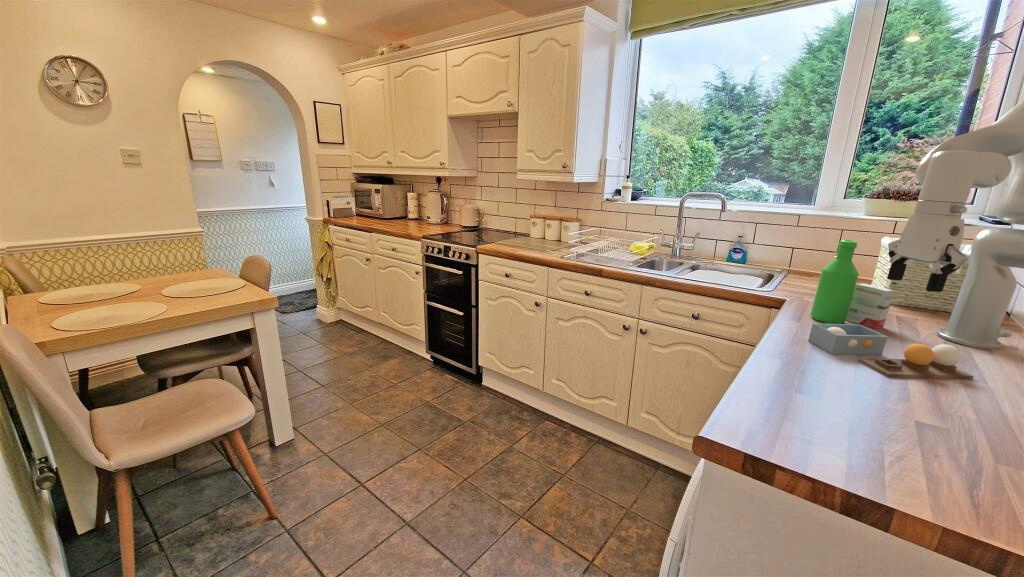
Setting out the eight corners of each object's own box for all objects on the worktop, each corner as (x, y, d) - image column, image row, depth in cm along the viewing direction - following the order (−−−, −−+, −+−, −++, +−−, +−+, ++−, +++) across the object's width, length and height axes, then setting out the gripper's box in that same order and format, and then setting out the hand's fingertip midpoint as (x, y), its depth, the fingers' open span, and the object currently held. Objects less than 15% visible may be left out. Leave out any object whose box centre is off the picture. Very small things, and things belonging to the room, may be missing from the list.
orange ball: (915, 359, 99) (921, 340, 98) (936, 369, 94) (943, 349, 93) (895, 359, 99) (901, 339, 98) (915, 369, 94) (922, 348, 93)
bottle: (850, 326, 124) (874, 244, 117) (818, 323, 126) (840, 242, 119) (835, 316, 132) (856, 239, 125) (804, 314, 134) (824, 237, 127)
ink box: (884, 327, 125) (895, 289, 122) (875, 329, 123) (887, 291, 119) (851, 317, 132) (862, 282, 129) (843, 319, 130) (853, 283, 127)
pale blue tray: (855, 341, 113) (860, 324, 111) (882, 355, 105) (888, 337, 103) (808, 340, 112) (812, 323, 111) (832, 354, 104) (837, 335, 103)
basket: (986, 320, 136) (1011, 255, 130) (881, 304, 148) (899, 244, 142) (953, 299, 158) (974, 243, 152) (865, 287, 171) (880, 235, 165)
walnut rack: (936, 362, 101) (939, 356, 101) (972, 379, 94) (975, 371, 93) (858, 361, 101) (860, 354, 100) (887, 377, 93) (890, 370, 92)
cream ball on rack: (941, 360, 100) (948, 341, 98) (963, 370, 95) (971, 350, 93) (921, 359, 99) (927, 340, 98) (942, 369, 95) (950, 349, 93)
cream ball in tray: (834, 341, 111) (839, 324, 109) (849, 349, 106) (854, 331, 104) (816, 341, 110) (820, 323, 109) (830, 349, 106) (835, 331, 104)
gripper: (999, 215, 82) (968, 297, 87) (917, 207, 99) (895, 276, 104) (962, 213, 82) (933, 295, 87) (886, 205, 99) (865, 275, 104)
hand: (912, 285), depth 95 cm, fingers open, 9 cm apart
